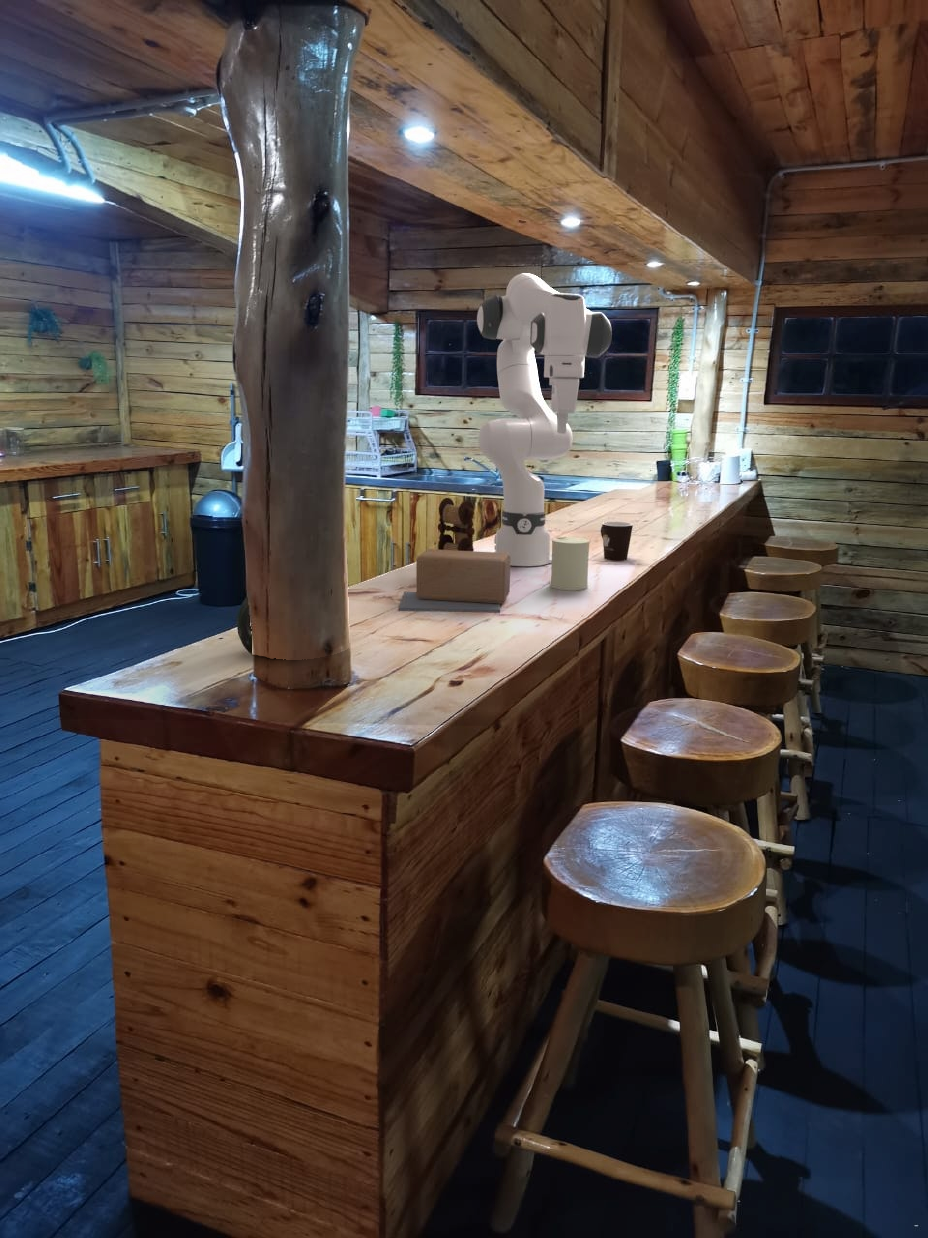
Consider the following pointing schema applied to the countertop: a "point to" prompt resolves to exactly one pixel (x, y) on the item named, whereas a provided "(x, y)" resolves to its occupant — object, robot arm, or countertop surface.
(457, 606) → the mat
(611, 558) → the coffee mug
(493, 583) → the block
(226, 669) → the countertop surface
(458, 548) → the wooden spool stand
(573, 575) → the can
